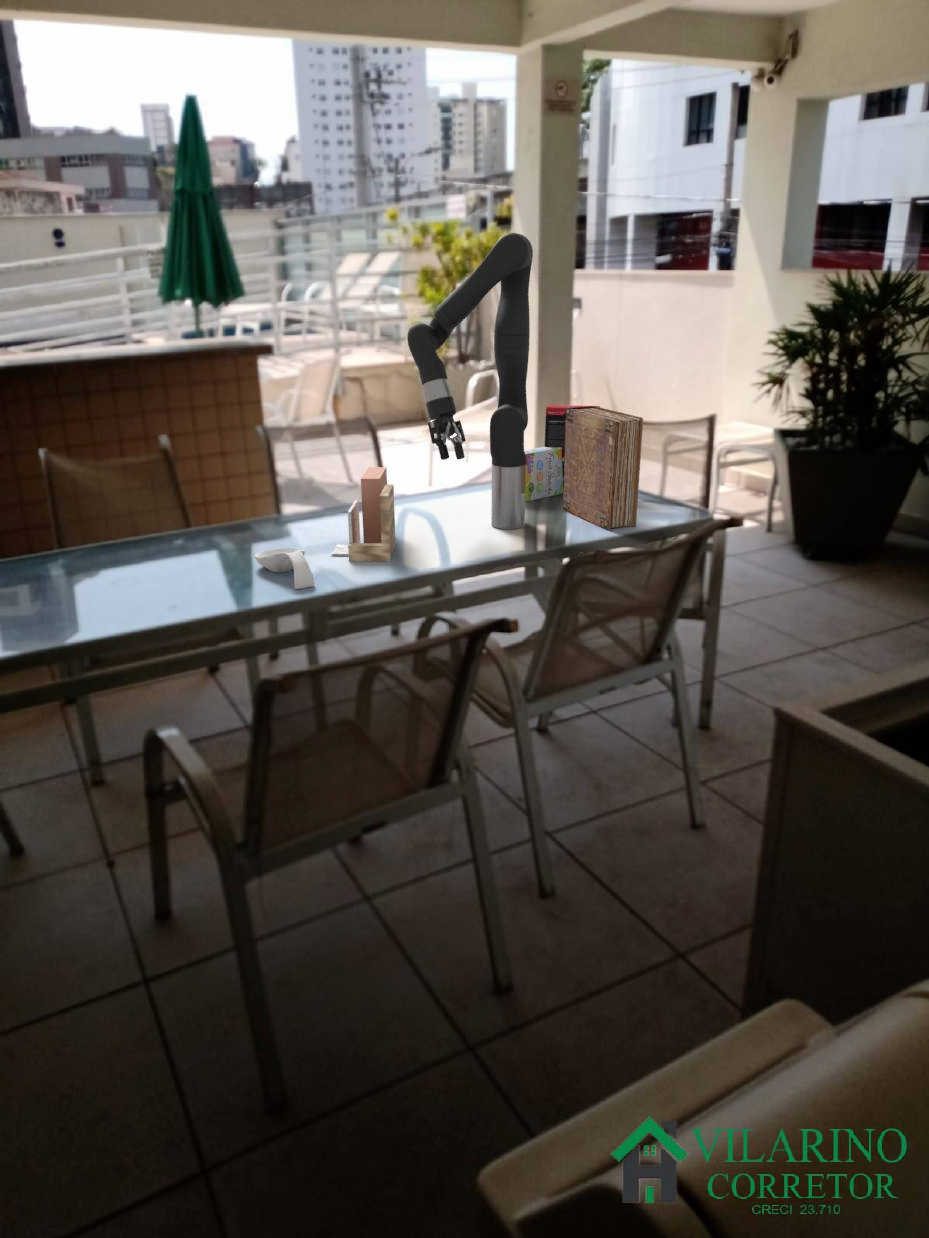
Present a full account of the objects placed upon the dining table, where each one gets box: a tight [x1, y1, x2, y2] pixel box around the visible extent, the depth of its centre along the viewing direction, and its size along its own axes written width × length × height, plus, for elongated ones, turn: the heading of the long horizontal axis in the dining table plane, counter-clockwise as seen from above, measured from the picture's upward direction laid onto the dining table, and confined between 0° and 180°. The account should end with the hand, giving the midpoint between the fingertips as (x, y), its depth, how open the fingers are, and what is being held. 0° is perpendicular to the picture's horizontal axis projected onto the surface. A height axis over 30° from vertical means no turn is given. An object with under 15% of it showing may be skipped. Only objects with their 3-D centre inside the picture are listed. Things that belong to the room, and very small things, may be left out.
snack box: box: [524, 446, 563, 503], centre depth 279 cm, size 21×6×15 cm, turn 129°
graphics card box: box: [544, 404, 601, 486], centre depth 282 cm, size 17×7×27 cm, turn 84°
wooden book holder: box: [347, 484, 397, 562], centre depth 224 cm, size 10×14×16 cm
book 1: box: [360, 466, 388, 543], centre depth 235 cm, size 5×14×18 cm, turn 178°
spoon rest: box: [254, 547, 316, 590], centre depth 211 cm, size 24×12×7 cm, turn 30°
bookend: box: [331, 499, 361, 557], centre depth 226 cm, size 6×12×12 cm, turn 178°
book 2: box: [562, 405, 644, 532], centre depth 252 cm, size 25×9×30 cm, turn 24°
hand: (453, 459), depth 240 cm, fingers open, 8 cm apart
